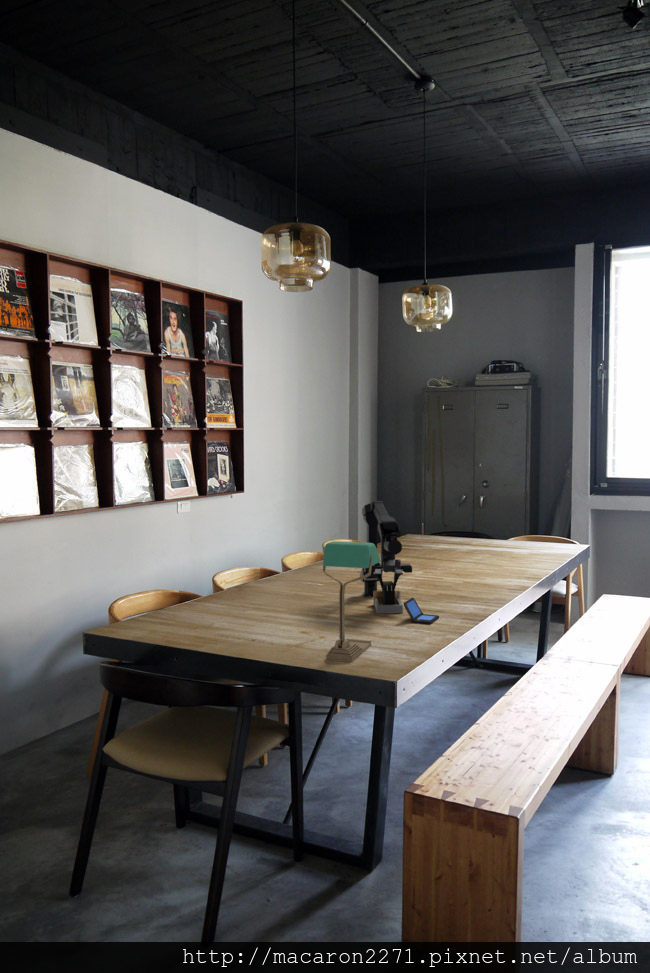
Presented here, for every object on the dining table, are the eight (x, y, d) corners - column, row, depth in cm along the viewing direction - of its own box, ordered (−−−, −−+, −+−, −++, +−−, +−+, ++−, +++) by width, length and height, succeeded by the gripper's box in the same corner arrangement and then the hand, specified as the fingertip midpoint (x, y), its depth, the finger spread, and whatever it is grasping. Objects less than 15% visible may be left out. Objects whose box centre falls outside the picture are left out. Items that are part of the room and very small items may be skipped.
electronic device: (392, 604, 308) (392, 580, 308) (395, 610, 298) (394, 585, 298) (382, 605, 308) (381, 581, 307) (384, 610, 298) (384, 585, 298)
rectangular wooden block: (400, 603, 312) (400, 590, 311) (400, 604, 310) (400, 591, 310) (373, 603, 311) (373, 590, 311) (373, 604, 310) (373, 591, 309)
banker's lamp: (315, 658, 234) (314, 546, 232) (338, 641, 254) (337, 538, 252) (363, 663, 229) (362, 548, 227) (383, 645, 248) (382, 539, 246)
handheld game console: (430, 625, 276) (430, 605, 276) (402, 622, 281) (402, 603, 280) (440, 618, 288) (440, 598, 287) (413, 615, 292) (412, 596, 292)
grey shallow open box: (374, 605, 310) (374, 598, 310) (398, 605, 310) (398, 598, 310) (377, 613, 296) (377, 605, 296) (402, 612, 296) (402, 605, 296)
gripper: (366, 554, 294) (366, 594, 295) (413, 553, 294) (414, 593, 295) (364, 550, 305) (364, 588, 306) (410, 549, 305) (410, 588, 306)
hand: (388, 589), depth 303 cm, fingers open, 4 cm apart
